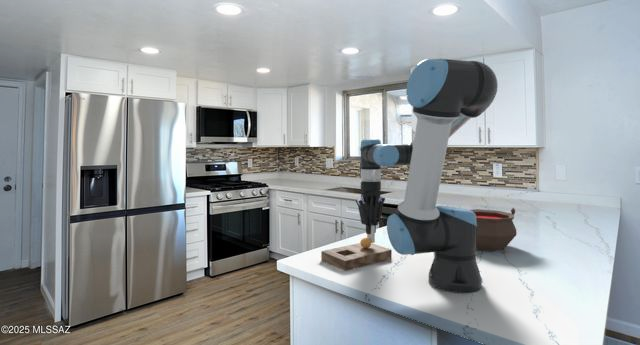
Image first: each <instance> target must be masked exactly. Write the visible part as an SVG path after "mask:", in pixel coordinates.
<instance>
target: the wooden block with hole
mask: <svg viewBox="0 0 640 345" xmlns="http://www.w3.org/2000/svg"><path fill="white" fill-rule="evenodd" d="M392 250H393V249H392V248H387V247H385V246H382V245H381V246H380V245H378V244H375V243H371V246H370V247H369V248H367V249H365V248H363V247H362V246H361V244H360V242H359V243H358V242H357V243H354V244H349V245H348V244H347V245H344V246H339V247H335V248H330V249H325V250H321V252H320V253H321V256H320V258H321V260H320V261H322V262H324V263H327V264H328V265H329V266H330V265H331V266H333V267H335V268H338V269H340V270H343V271H344V272H346V271H351V270H355V269H358V268H362V267H363V268H364V267H366V266H370V265H373V264H377V263H382V262H385V261H388V260H392V259H393V258H392V253H393V252H392Z"/></svg>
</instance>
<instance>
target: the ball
mask: <svg viewBox="0 0 640 345" xmlns="http://www.w3.org/2000/svg"><path fill="white" fill-rule="evenodd" d="M359 243H360V244H361V246H362V247H363V248H365V249H367V248H369V247H370V246H371V241H370V239H368V238H367V237H364V238H361V240H360V242H359Z"/></svg>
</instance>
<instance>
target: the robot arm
mask: <svg viewBox="0 0 640 345" xmlns="http://www.w3.org/2000/svg"><path fill="white" fill-rule="evenodd" d="M405 90H406V93H405V94H406V95H407V97H406V99H407V102H408V104H409V105H410V106H412V114H414V116H415V117H416V119H417V120H416V125H415V132H414V139H413V141H411V143H397V144H396V143H391V144H390V143H382V141H381V140H380V139H379V138H378V139H377V138H376V139H374V138H373V139H369V138H368V139H366V138H365V139H362V140H361V141H360V148H359V151H360V180H361V181H360V190H361V195H360V198H359V199H356V200H355V203H356V205H357V207H358V214H359V218H360V223H361V224H362V225H365V234H366V238H368V239H370V241H371V243H372V244H375V242H376V241H375V240H376V239H375V238H376V236H375V235H376V232H377V226H378V225H379V223H380V222H381V220H382V219H381V218H382V212H383V207H384V202H385V200H386V198H385V197H383V196H381V193H380V192H381V189H382V182H381V180H382V173H381V172H382V171H381V170H382V167H385V168H386V167H387V168H388V167H392V166H393V167H394V166H395V167H396V166H409V169H408V176H407V181H406V182H407V183H406V188H405V193H404V194H405V195H404V200H403V201H402V202H400V203H398V206H397V209H396V213H392V214H390V215H389V216H388V217H387V221H386V232H387V237H388V239H389V242H390V245H391V246H392V248H393V250H394V251H395V252H396V253H397V254H399V255H403V256H404V255H407V256H408V255H410V256H413V255H420V254H429V253H434V252H435V257H434V256H433V260H432V264H431V265H430V269H429V271H428V283H429V284H430V285H431V286H433V287H434V288H437V289H439V290H442V291H447V292H452V293H463V294H464V293H466V294H467V293H475V292H478V291H479V290H481V289H482V288H483V282H482V281H483V279H482V275H481V273H480V272H481V271H480V269H479V265H478V263H477V249H476V232H477V222H476V214H475V213H474V212H473V211H471V210H472V209H468V208H467V209H466V208H462V207H455V206H448V205H436V204H437V200H438V197H439V196H438V195H439V190H440V185H441V179H442V174H443V169H444V164H445V159H446V154H447V150H448V145H449V139H450V138H451V137H452V136H453V135H454V134H455V133H457V131H459V130H460V128H461V127H463V126H464V125H465V124H466V123H468V122H469V121H470V120H471V119H474V118H477V117H479V116H481V115H482V114H483V113H484V112H485V111H486V110H487V109H488V108H489V107H490V105H492V103H493V102H494V100H495V99H496V96H497V92H498V79H497V76H496V73H495V72H494V70H493V69H492V68H491V67H490V66H489V65H487V64H486V63H484V62H483V61H482V62H481V61H477V60H464V59H463V60H462V59H461V60H460V59H448V58H445V59H444V58H426V59H424V60H421V61H420V62H418V63H417V65H416V66H415V67H414V68H413V69H412V71H411V73H410V75H409V78H408V80H407V85H406V89H405Z"/></svg>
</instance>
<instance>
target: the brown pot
mask: <svg viewBox="0 0 640 345" xmlns="http://www.w3.org/2000/svg"><path fill="white" fill-rule="evenodd" d="M470 210H471V211H473V212H474V213H475V214H476V222H477V232H476V251H477V250H478V251H484V252H485V251H486V252H497V251H498V252H499V251H504V250H505V249H506V248H507V246H508V245H509V244H510V243H512V241H513V239H514V238H515V237H516V236H517V228H516V226H515V223H514V219H515V213H516V209H515V207H512V208H511V210H510V212H506V211H502V210H497V209H496V210H495V209H494V210H493V209H480V208H479V209H478V208H476V209H470Z"/></svg>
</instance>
